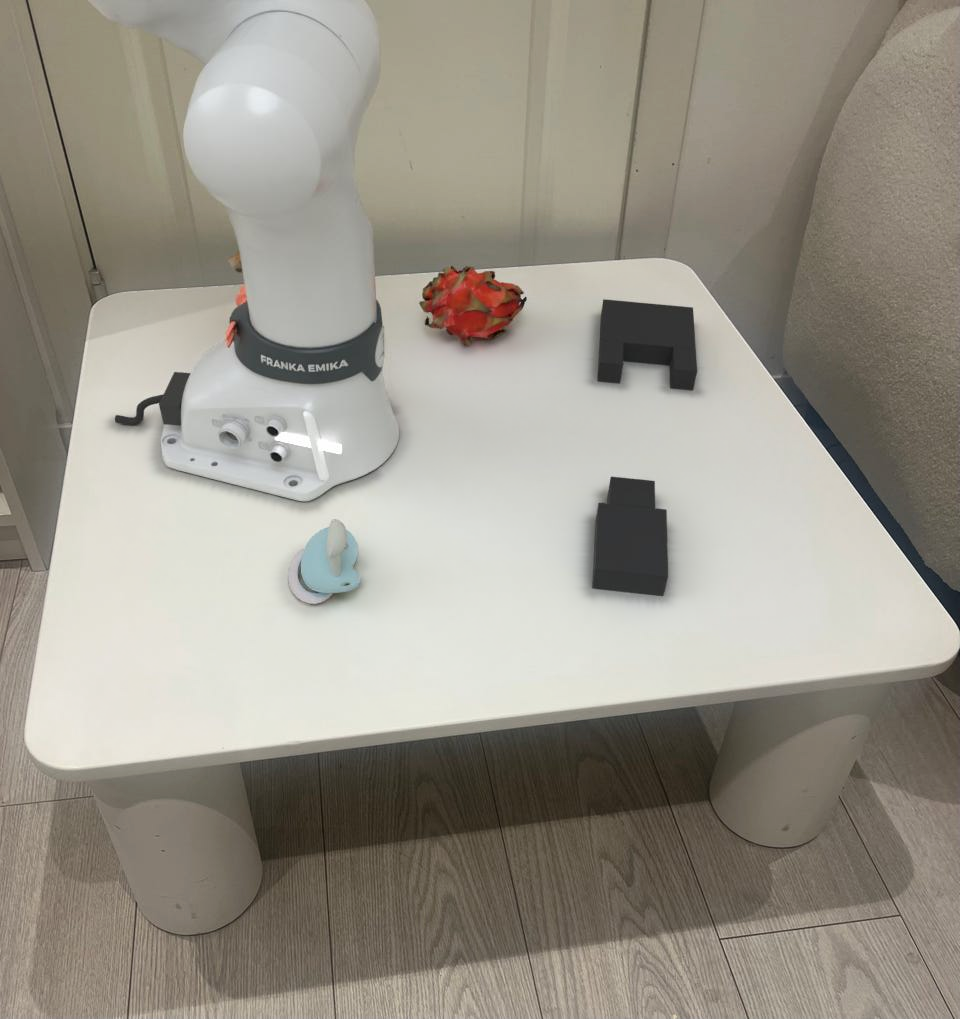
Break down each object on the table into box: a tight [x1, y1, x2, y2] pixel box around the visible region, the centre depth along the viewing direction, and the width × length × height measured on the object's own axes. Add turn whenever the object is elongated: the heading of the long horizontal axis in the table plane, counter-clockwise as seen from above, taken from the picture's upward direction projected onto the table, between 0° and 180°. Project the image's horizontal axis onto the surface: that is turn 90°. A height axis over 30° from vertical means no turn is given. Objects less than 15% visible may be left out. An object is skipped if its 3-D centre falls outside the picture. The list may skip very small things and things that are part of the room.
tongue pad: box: [591, 476, 669, 597], centre depth 88 cm, size 12×6×2 cm, turn 173°
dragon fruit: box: [418, 265, 528, 346], centre depth 109 cm, size 8×8×12 cm
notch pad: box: [596, 298, 698, 391], centre depth 109 cm, size 12×10×2 cm
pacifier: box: [287, 518, 361, 605], centre depth 83 cm, size 7×6×6 cm
